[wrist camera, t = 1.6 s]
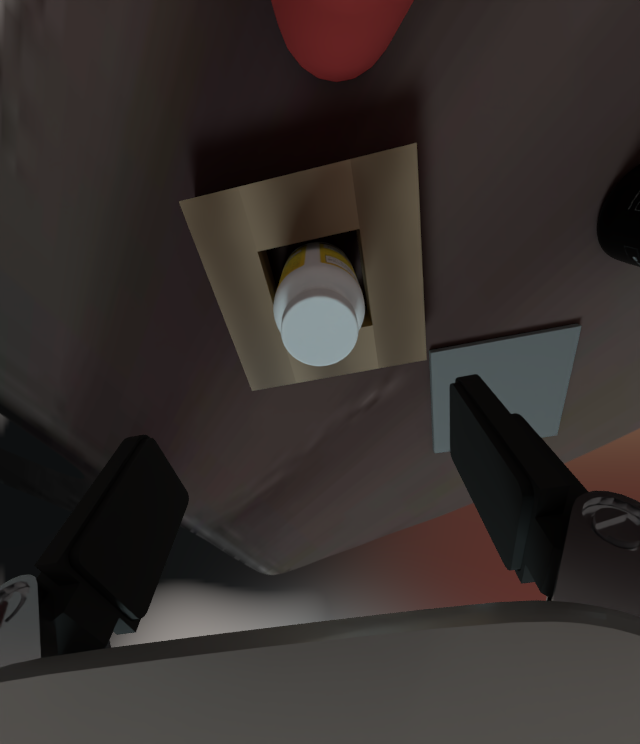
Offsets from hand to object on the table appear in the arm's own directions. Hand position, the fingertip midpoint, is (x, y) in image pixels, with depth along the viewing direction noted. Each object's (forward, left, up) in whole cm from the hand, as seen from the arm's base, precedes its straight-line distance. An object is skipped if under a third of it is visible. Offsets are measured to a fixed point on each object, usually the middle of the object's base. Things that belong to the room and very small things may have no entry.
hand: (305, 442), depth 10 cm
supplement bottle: (0, 0, -18) cm, 18 cm away
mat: (-14, +14, -17) cm, 26 cm away
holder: (0, 0, -17) cm, 17 cm away
